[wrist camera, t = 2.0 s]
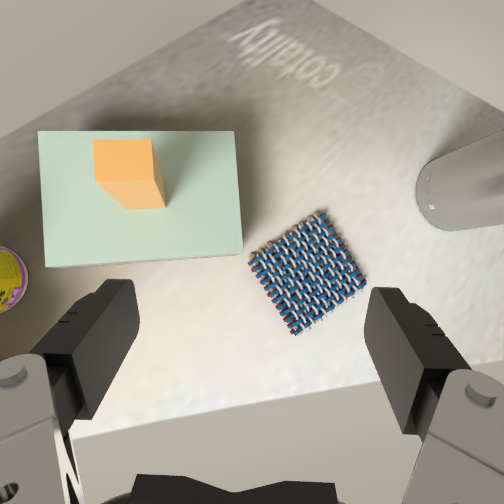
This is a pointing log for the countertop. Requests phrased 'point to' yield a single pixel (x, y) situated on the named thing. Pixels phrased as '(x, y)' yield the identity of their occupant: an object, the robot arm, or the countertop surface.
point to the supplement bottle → (11, 278)
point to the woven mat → (308, 273)
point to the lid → (138, 195)
